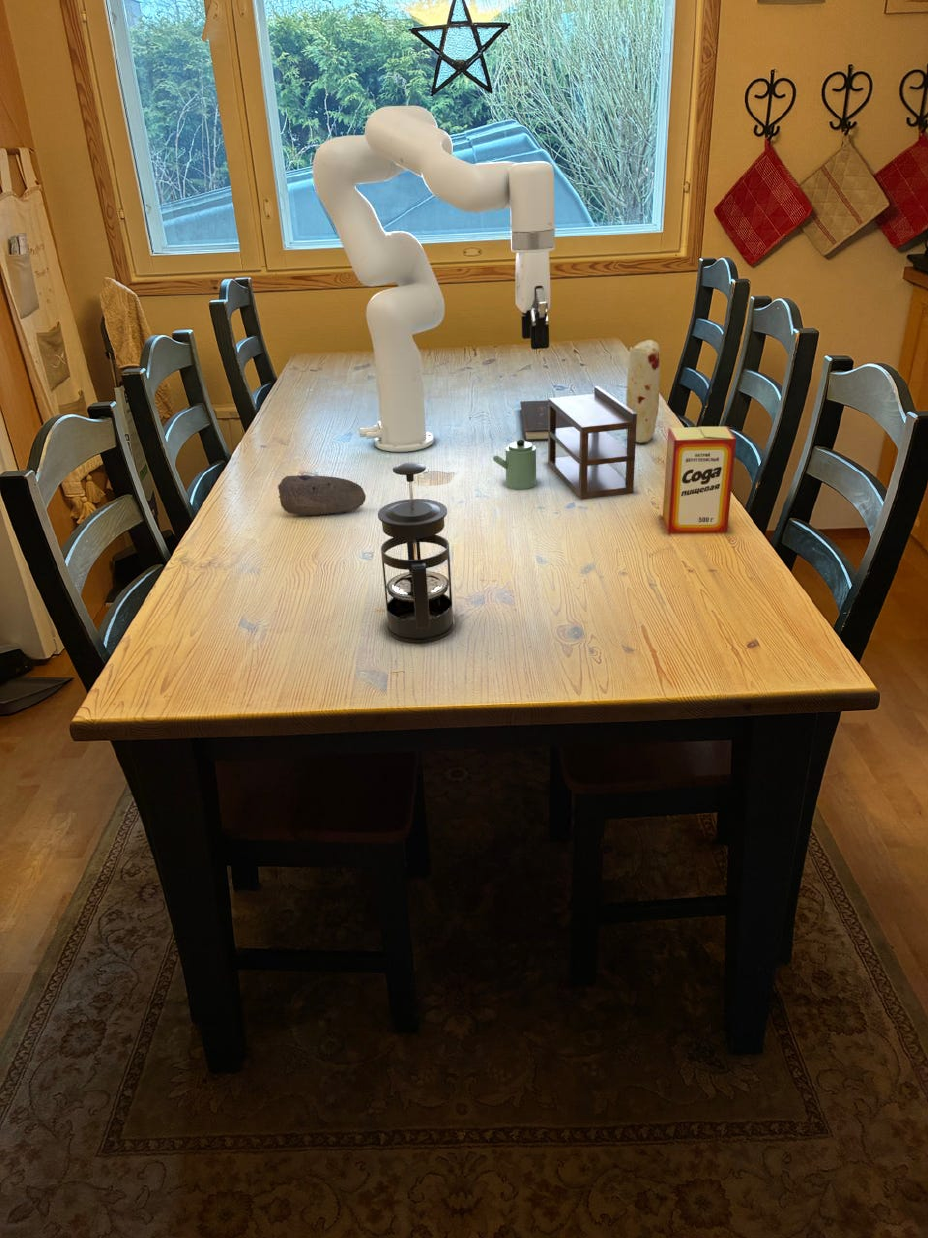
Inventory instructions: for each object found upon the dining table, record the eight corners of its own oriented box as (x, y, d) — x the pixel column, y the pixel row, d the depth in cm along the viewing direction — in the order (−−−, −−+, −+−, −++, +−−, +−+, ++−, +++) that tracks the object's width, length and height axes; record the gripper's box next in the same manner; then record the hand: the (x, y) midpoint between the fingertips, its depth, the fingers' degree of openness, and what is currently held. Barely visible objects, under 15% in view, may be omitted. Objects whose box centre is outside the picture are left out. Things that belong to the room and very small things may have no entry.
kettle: (497, 492, 173) (496, 447, 169) (490, 482, 178) (489, 438, 174) (539, 487, 174) (539, 442, 170) (531, 477, 179) (531, 433, 175)
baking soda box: (668, 533, 153) (674, 437, 146) (662, 517, 159) (668, 425, 151) (727, 532, 153) (736, 436, 145) (719, 516, 158) (728, 424, 151)
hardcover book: (524, 441, 199) (524, 430, 198) (520, 410, 219) (520, 401, 218) (600, 438, 198) (600, 428, 197) (589, 408, 219) (589, 398, 217)
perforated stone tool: (368, 506, 169) (365, 469, 166) (365, 517, 165) (361, 479, 161) (286, 508, 170) (281, 471, 167) (280, 519, 165) (275, 482, 162)
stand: (580, 499, 168) (582, 419, 161) (548, 464, 185) (548, 390, 178) (633, 492, 170) (637, 413, 163) (596, 458, 187) (598, 385, 180)
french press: (384, 611, 133) (370, 455, 122) (450, 605, 134) (442, 449, 123) (388, 652, 123) (373, 486, 112) (460, 645, 124) (451, 479, 113)
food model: (658, 446, 192) (664, 347, 183) (625, 446, 193) (629, 347, 184) (655, 431, 201) (661, 336, 191) (624, 431, 202) (628, 336, 192)
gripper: (504, 238, 169) (507, 335, 177) (519, 248, 154) (522, 354, 162) (545, 235, 170) (547, 332, 177) (564, 244, 154) (565, 350, 162)
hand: (535, 342), depth 170 cm, fingers open, 9 cm apart
